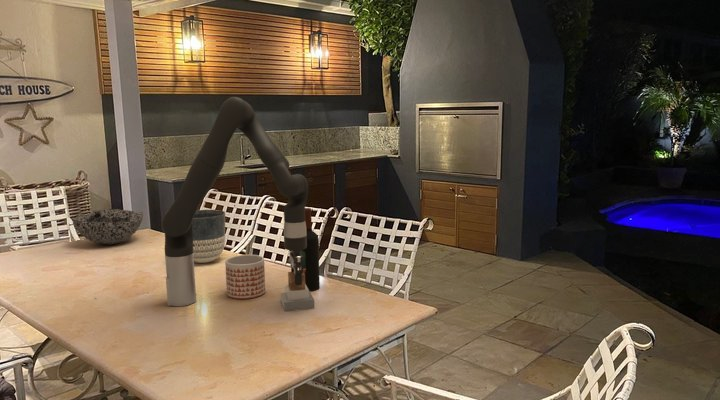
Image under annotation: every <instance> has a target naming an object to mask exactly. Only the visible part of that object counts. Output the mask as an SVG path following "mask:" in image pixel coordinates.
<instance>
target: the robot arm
mask: <svg viewBox="0 0 720 400" xmlns="http://www.w3.org/2000/svg"><path fill="white" fill-rule="evenodd" d="M237 129H238V130H240V131H241V133H243V135H244V136H245V137H246V138H247V139H248V140H249V141H250V143H251V144H252V146H253V148H254V150H255V152H256V155H257V156H258V158H259V159H260V161H261V162H262V163H263V165H264V166H265V167H266V169H267V171H269V173H270V174H271V177H272V179H273V181H274V184H275V186H276V188H277V190H278V191H279V193H280V194H282V195H283V196H284V197H286V198H288V202H287V203H286V204H285V205H284V207H283V245H284V246H283V248H284V249H285V250H286V251H289V252H288V253H289V254H288V257H289V266H290V267H291V268H290V272H294V274H295V285H302V274H303V256H302V254H301V252H300V251H301V250H302V249H305V248H306V247H307V234H306V222H305V208H306V206H307V200H308V196H309V195H308V194H309V182H308V180H307V178H306V176H304V175H303V174H301V173H296V174H291V173H290V170H289V168H290V161H289V160H288V159H287V157H285V154H283V152H282V151H281V150H280V148H279V147H278V146H277V144H276V143H275V142H274V141H273V140H272V138H271V137H270V136H269V135H268V133H267V132H266V130H265V129H264V127H263V125H262V124H261V122H260V120H259V118H258V117H257V115H256V112H255V111H254V109H253V106H252V105H251V104H250V103H248V101H246V100H244V99H243V98H241V97H239V96H238V97H237V96H231V97H229V98H227V99H226V100H224V102H223V103H222V105H221V106H220V109H219V111H218V114H217V115H216V119H215V121H214V123H213V125H212V127H211V130H210V132H209V133H208V135H207V137H206V139H205V140H204V143H203V145H202V146H201V148H200V150H199V152H198V153H197V154H196V157H195V159H193V162H192V164H191V165H190V168H189V170H188V172H187V174H186V177H185V179H184V181H183V183H182V186H181V189H180V191H179V194H178V195H177V197H176V199H175V200H174V201H173V203H172V205H171V206H170V208H169V209H167V210H166V212H165V213H164V215H163V217H162V219H161V229H162V230H163V232H164V258H165V259H164V260H165V273H166V278H165V284H166V285H165V286H166V299H167V306H168V307H169V306H171V307H172V306H173V307H185V306H189V305H192V304H194V303H195V302H196V301H197V290H196V278H195V276H196V274H195V273H196V272H195V262H194V256H193V227H192V219H193V217H194V215H195V212H196V210H198V209H199V205H200V204H201V202H202V201H203V199H204V198H205V197H206V195H207V194H208V192H209V191H210V190H211V188H212V187H213V185H214V183H216V180H217V178H218V177H219V175H220V174H221V172H222V170H223V168H224V165H225V162H226V158H227V152H228V149H229V148H228V147H229V143H230V141H231V139H232V137H233V135H234V133H235V132H236V131H237ZM299 268H300V270H299Z"/></svg>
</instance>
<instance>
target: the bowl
mask: <svg viewBox="0 0 720 400" xmlns="http://www.w3.org/2000/svg"><path fill="white" fill-rule="evenodd" d="M143 218H144V212H143V211H139V212H138V211H137V212H136V211H133V210H128V209H127V210H126V209H119V208H117V209H113V208H105V209H103V208H102V209H96V210H93V211H92V213H87V214H84V213H81V214H77V215H76V216H75V218H73V220H72V221H73V223H72V224H73V225H74V227H75V229H76V230H77V232H79V234H80V235H81V236H83V238H85V240H87V241H88V240H89V241H90V242H93V243H96V244H99V245H105V246H106V245H110V246H111V245H117V244H120V243H122V242H124V241H126V240H128V239H130V238H131V237H132V236H133V235H134V234H136V232H137V230H139V228H140V226H141V223H142V222H143Z"/></svg>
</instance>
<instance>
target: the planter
mask: <svg viewBox="0 0 720 400" xmlns="http://www.w3.org/2000/svg"><path fill="white" fill-rule="evenodd" d="M192 227H193V256H194V263H198V264H207V263H211V262H213V261H216V260H217V259H218V258H219V257H220V256H221V254H222V253H223V251H224V248H225V245H226V212H225V211H224V210H220V209H197V210H196V212H195V215H194V217H193V219H192Z"/></svg>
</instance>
